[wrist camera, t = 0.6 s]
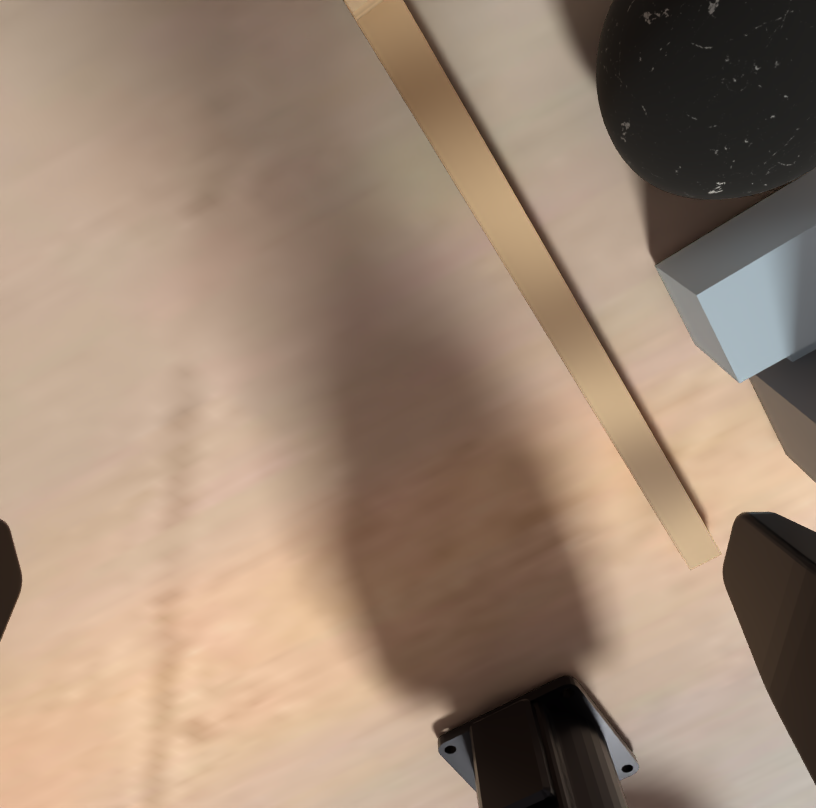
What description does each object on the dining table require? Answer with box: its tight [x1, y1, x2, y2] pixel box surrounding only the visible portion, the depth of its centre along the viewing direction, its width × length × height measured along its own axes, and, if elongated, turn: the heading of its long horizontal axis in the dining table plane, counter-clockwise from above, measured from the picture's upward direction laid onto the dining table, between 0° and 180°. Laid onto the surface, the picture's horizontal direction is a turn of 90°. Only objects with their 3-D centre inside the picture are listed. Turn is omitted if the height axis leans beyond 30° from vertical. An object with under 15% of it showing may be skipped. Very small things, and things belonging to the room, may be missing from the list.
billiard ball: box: [596, 0, 816, 200], centre depth 16 cm, size 6×6×6 cm
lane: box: [357, 0, 722, 570], centre depth 20 cm, size 20×13×1 cm, turn 33°
